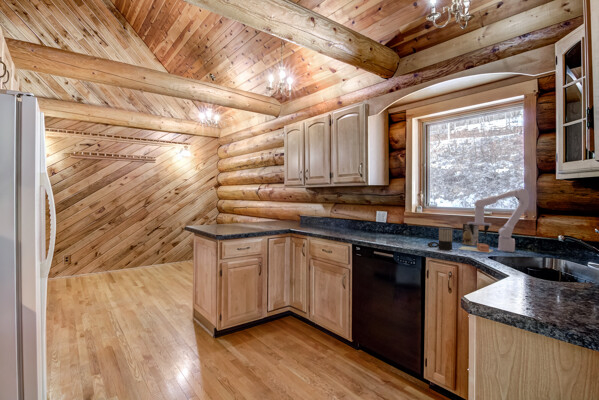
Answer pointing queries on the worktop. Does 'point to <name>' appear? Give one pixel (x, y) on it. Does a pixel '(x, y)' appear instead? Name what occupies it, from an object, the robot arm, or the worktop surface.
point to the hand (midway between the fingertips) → (478, 235)
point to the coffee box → (470, 235)
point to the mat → (473, 249)
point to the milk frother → (444, 239)
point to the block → (483, 247)
